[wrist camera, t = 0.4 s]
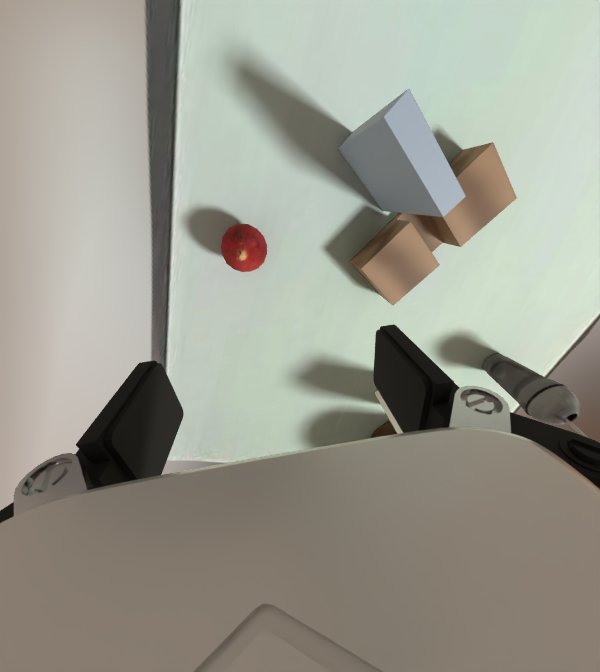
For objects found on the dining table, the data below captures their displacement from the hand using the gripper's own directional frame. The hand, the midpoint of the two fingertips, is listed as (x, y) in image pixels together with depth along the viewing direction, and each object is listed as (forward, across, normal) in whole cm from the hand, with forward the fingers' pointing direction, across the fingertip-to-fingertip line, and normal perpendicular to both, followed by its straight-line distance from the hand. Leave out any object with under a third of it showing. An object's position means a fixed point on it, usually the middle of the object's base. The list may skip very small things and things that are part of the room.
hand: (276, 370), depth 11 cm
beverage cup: (+29, -43, +28) cm, 59 cm away
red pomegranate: (+29, +3, -1) cm, 29 cm away
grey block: (+29, -15, -8) cm, 34 cm away
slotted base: (+29, -22, 0) cm, 37 cm away
